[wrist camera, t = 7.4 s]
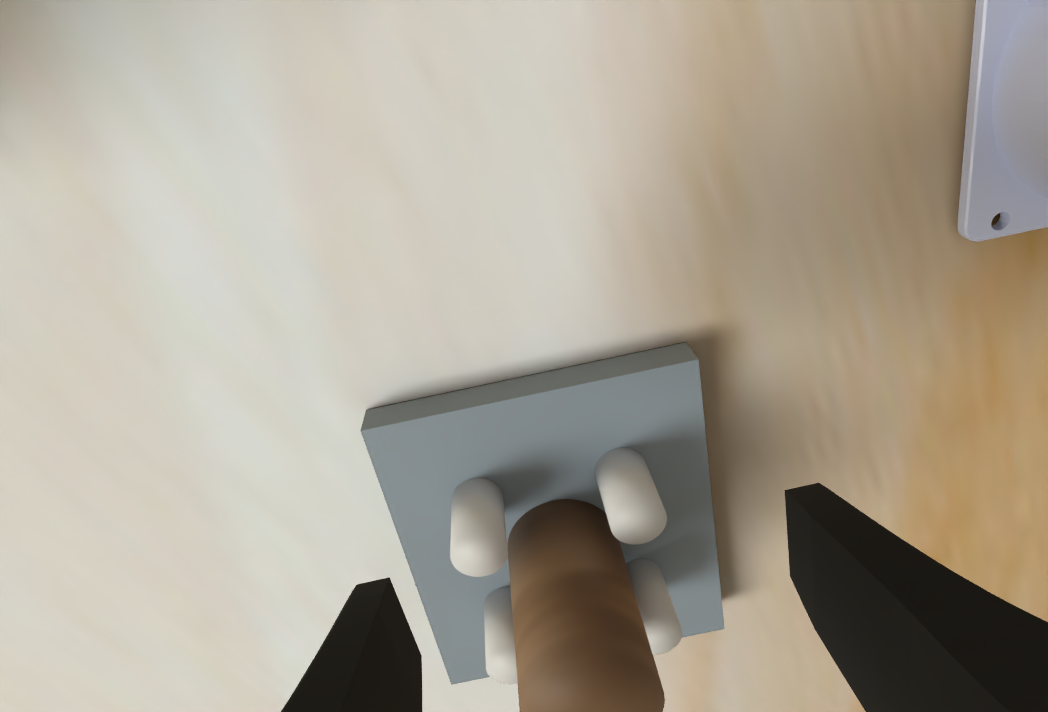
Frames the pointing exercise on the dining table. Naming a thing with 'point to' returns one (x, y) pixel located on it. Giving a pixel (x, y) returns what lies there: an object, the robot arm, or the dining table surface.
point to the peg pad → (552, 493)
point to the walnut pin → (577, 615)
